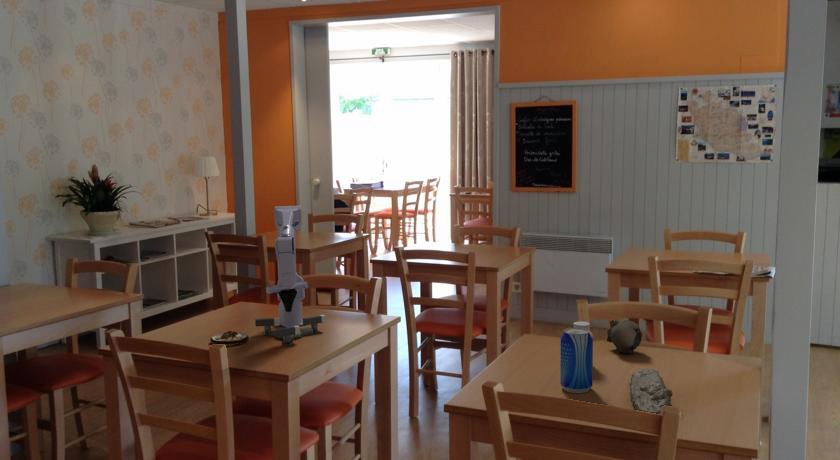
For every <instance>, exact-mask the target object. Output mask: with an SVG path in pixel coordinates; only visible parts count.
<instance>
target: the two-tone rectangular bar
mask: <svg viewBox="0 0 840 460" xmlns="http://www.w3.org/2000/svg"><path fill="white" fill-rule="evenodd" d="M300 328H301V325H300V326H298V325H297V326H292V327H279V328H276V329H275V336H274V337H276V338H277V337H282V336H284V343H291V335H296V334H300Z"/></svg>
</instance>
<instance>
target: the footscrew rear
mask: <svg viewBox="0 0 840 460" xmlns="http://www.w3.org/2000/svg"><path fill="white" fill-rule="evenodd" d="M254 322H255V327H256V328H257V327H264V329H263V330H264V333H268V330H271V329H272V327H278V326H280V324H279V317H266V318H264V317H263V318H262V317H261V318H255V321H254Z"/></svg>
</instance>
